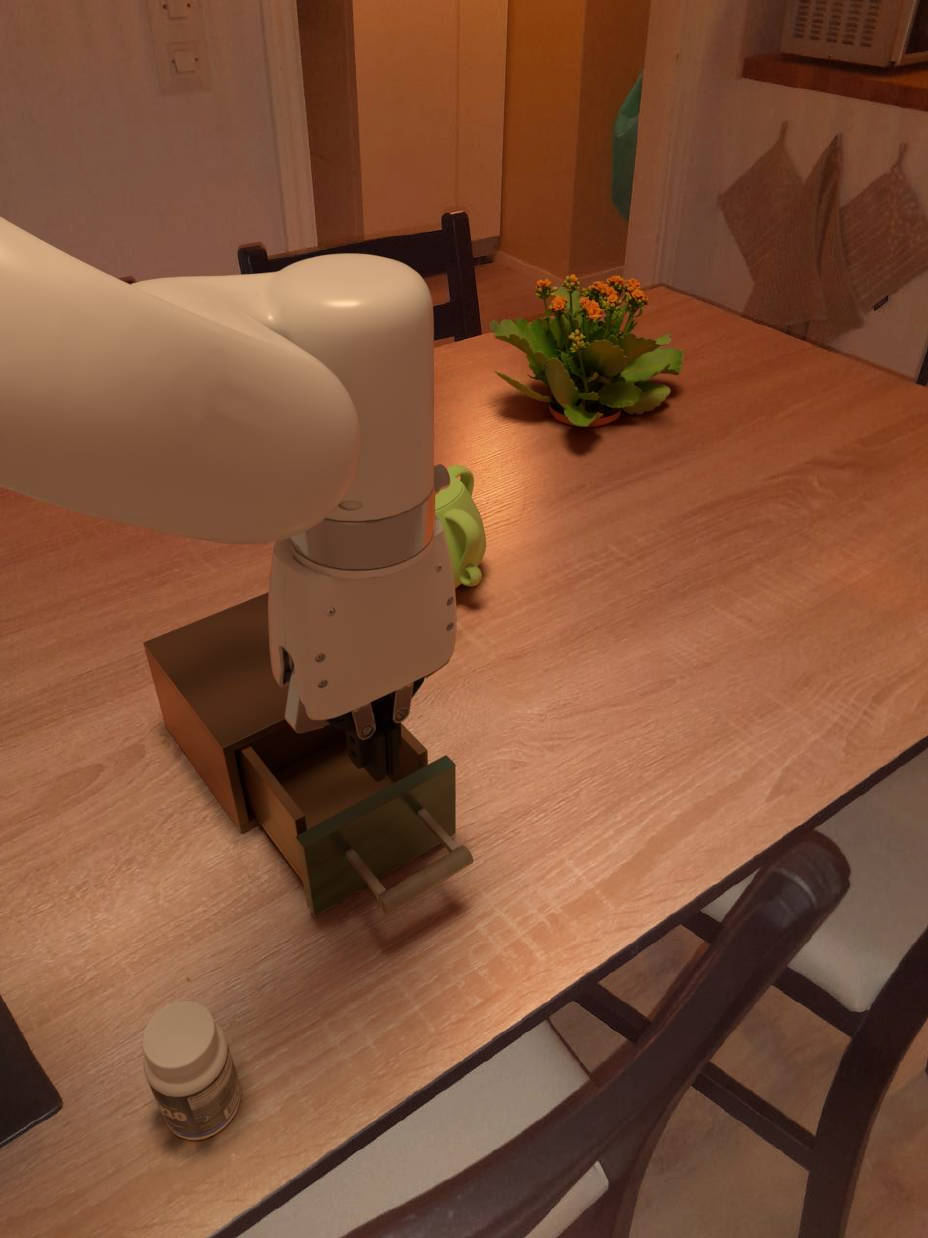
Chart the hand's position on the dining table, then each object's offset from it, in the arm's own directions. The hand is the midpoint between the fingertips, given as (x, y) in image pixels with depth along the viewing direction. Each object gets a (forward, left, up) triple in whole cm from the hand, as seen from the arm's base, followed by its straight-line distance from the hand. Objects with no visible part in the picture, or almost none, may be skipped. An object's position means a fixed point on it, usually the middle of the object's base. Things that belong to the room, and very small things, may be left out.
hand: (375, 763), depth 61 cm
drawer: (+1, +6, -14) cm, 15 cm away
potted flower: (+63, +50, -15) cm, 82 cm away
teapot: (+23, +32, -15) cm, 42 cm away
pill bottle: (-17, -5, -15) cm, 23 cm away
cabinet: (+1, +20, -15) cm, 25 cm away
